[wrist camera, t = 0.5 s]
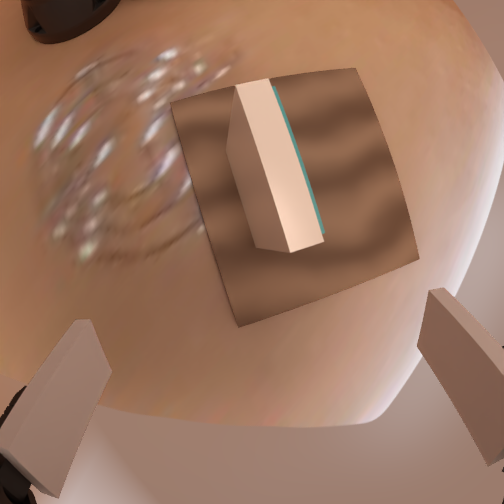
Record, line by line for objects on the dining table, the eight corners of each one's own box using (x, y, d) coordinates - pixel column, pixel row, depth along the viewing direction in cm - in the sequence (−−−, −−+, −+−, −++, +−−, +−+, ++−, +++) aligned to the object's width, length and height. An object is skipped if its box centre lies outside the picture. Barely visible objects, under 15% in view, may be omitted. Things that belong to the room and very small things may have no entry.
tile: (225, 151, 30) (235, 85, 16) (248, 145, 30) (273, 77, 16) (255, 247, 31) (290, 252, 17) (278, 240, 31) (329, 239, 17)
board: (171, 108, 31) (169, 103, 29) (350, 73, 33) (355, 67, 31) (237, 323, 32) (238, 327, 31) (412, 258, 34) (419, 258, 33)
